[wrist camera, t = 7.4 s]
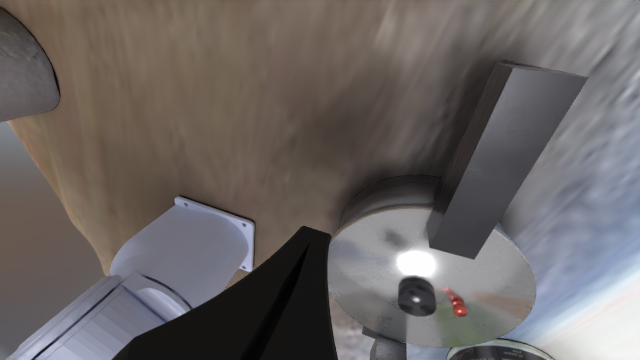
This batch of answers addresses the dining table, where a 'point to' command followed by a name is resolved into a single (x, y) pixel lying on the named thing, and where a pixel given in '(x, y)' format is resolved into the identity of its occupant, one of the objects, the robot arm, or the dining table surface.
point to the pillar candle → (23, 73)
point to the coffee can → (497, 351)
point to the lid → (455, 230)
